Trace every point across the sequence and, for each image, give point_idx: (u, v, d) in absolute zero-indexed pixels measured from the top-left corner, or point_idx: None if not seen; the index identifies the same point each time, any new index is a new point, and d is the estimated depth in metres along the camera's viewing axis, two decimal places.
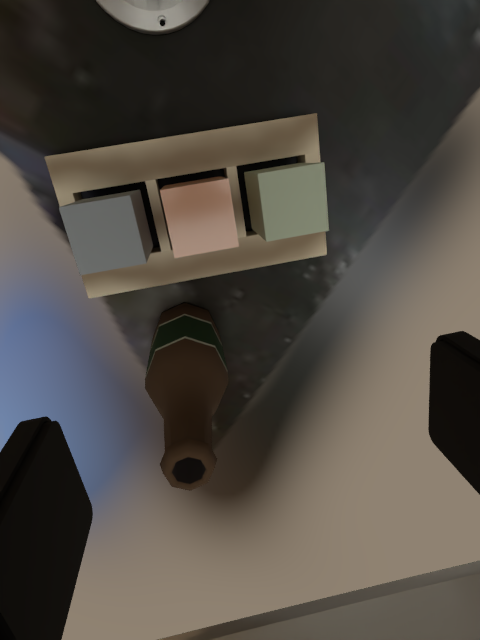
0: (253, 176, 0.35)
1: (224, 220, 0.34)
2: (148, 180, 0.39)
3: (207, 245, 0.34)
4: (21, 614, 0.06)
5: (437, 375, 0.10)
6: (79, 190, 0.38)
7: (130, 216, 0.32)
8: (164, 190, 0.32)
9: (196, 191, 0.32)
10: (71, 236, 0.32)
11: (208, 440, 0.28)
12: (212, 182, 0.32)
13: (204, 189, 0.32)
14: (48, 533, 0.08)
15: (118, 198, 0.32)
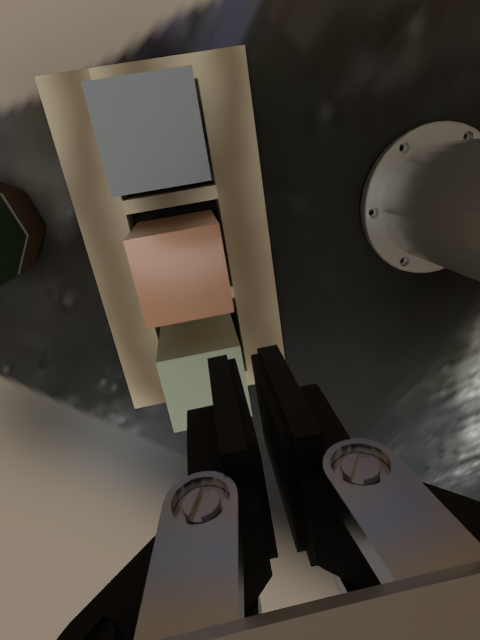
0: (232, 332, 0.28)
1: (181, 308, 0.25)
2: (216, 189, 0.30)
3: (146, 287, 0.24)
4: None
5: (256, 384, 0.11)
6: (201, 89, 0.28)
7: (182, 178, 0.22)
8: (218, 229, 0.23)
9: (217, 272, 0.24)
10: (147, 77, 0.20)
11: None
12: (229, 292, 0.25)
13: (220, 283, 0.25)
14: None
15: (206, 162, 0.22)
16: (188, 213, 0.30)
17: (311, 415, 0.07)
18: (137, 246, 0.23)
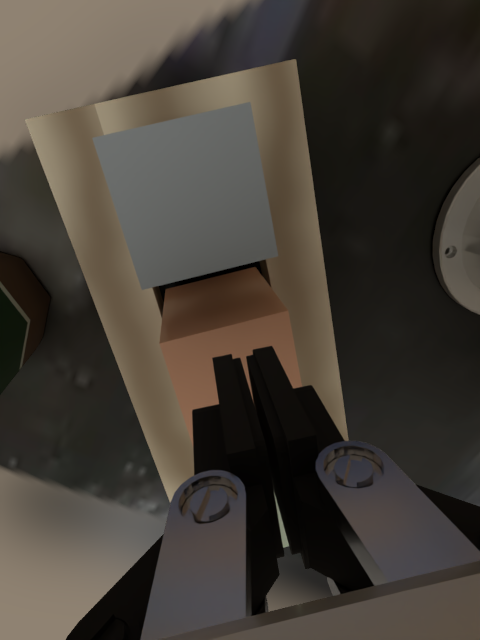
0: None
1: None
2: None
3: (191, 398, 0.18)
4: None
5: (251, 386, 0.10)
6: None
7: (237, 257, 0.16)
8: (287, 318, 0.17)
9: (286, 371, 0.18)
10: (187, 124, 0.14)
11: None
12: None
13: None
14: None
15: (271, 234, 0.16)
16: (228, 273, 0.24)
17: (305, 417, 0.07)
18: (179, 349, 0.17)
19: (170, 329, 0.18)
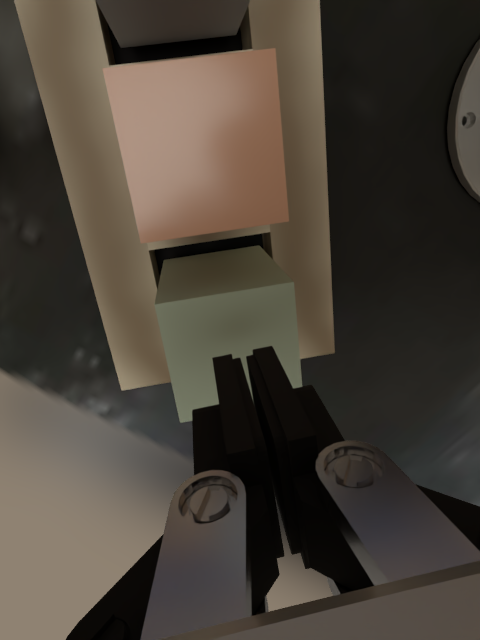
0: (275, 269, 0.18)
1: (201, 210, 0.15)
2: None
3: (142, 164, 0.14)
4: None
5: (251, 386, 0.10)
6: None
7: None
8: (273, 61, 0.13)
9: (266, 146, 0.14)
10: None
11: None
12: (283, 184, 0.15)
13: (269, 165, 0.14)
14: None
15: None
16: None
17: (305, 417, 0.07)
18: (128, 82, 0.13)
19: None
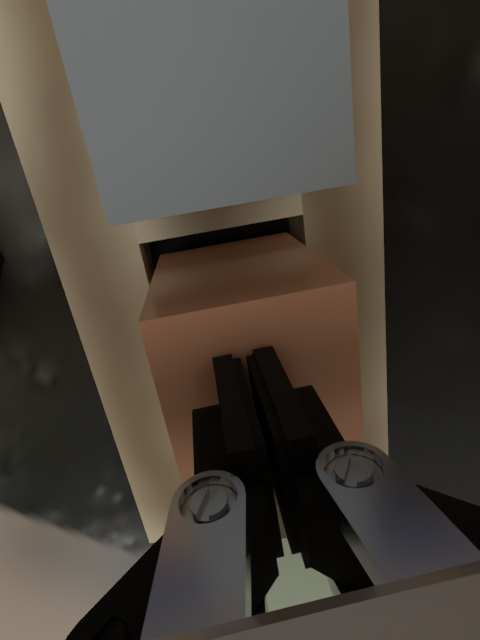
0: None
1: None
2: (301, 198, 0.17)
3: (186, 415, 0.11)
4: None
5: (251, 386, 0.10)
6: None
7: (285, 178, 0.09)
8: (353, 294, 0.10)
9: (340, 382, 0.11)
10: None
11: None
12: (359, 419, 0.12)
13: (343, 401, 0.12)
14: None
15: (349, 139, 0.09)
16: (248, 239, 0.17)
17: (305, 417, 0.07)
18: (170, 334, 0.10)
19: (159, 302, 0.11)
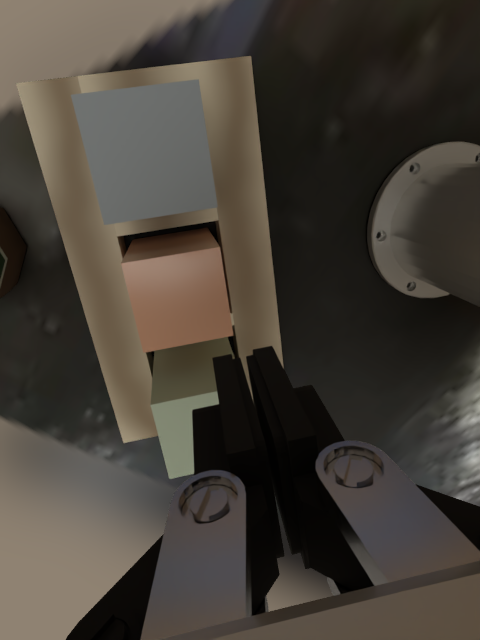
0: None
1: (179, 332, 0.24)
2: (217, 210, 0.28)
3: (143, 310, 0.23)
4: None
5: (251, 386, 0.10)
6: (203, 102, 0.25)
7: (184, 204, 0.20)
8: (219, 253, 0.23)
9: (217, 296, 0.24)
10: (147, 92, 0.18)
11: None
12: (229, 316, 0.24)
13: (219, 306, 0.24)
14: None
15: (212, 188, 0.20)
16: (184, 231, 0.30)
17: (304, 417, 0.07)
18: (135, 269, 0.23)
19: (131, 257, 0.23)
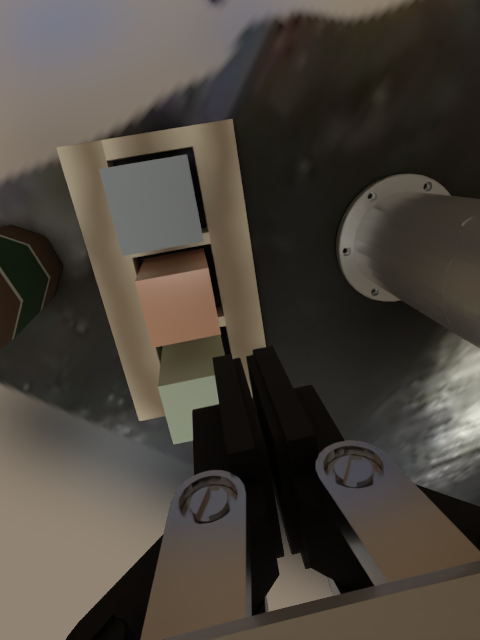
0: None
1: (179, 332, 0.32)
2: (209, 235, 0.35)
3: (152, 316, 0.31)
4: None
5: (251, 385, 0.10)
6: (196, 155, 0.33)
7: (179, 240, 0.27)
8: (208, 272, 0.31)
9: (207, 304, 0.31)
10: (151, 164, 0.25)
11: None
12: (217, 319, 0.32)
13: (209, 312, 0.32)
14: None
15: (199, 228, 0.27)
16: (185, 251, 0.38)
17: (305, 417, 0.07)
18: (145, 285, 0.30)
19: (142, 276, 0.31)
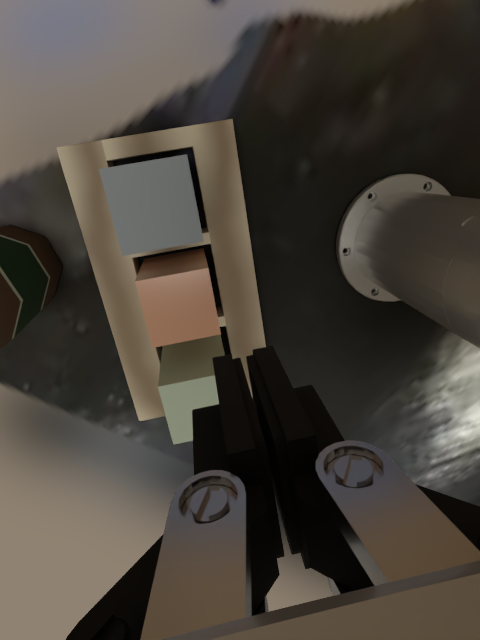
0: None
1: (179, 332, 0.32)
2: (209, 235, 0.35)
3: (152, 316, 0.31)
4: None
5: (251, 385, 0.10)
6: (196, 155, 0.33)
7: (179, 240, 0.27)
8: (208, 272, 0.31)
9: (207, 304, 0.31)
10: (151, 164, 0.25)
11: None
12: (217, 319, 0.32)
13: (209, 312, 0.32)
14: None
15: (199, 228, 0.27)
16: (185, 251, 0.38)
17: (305, 417, 0.07)
18: (145, 285, 0.30)
19: (142, 276, 0.31)
